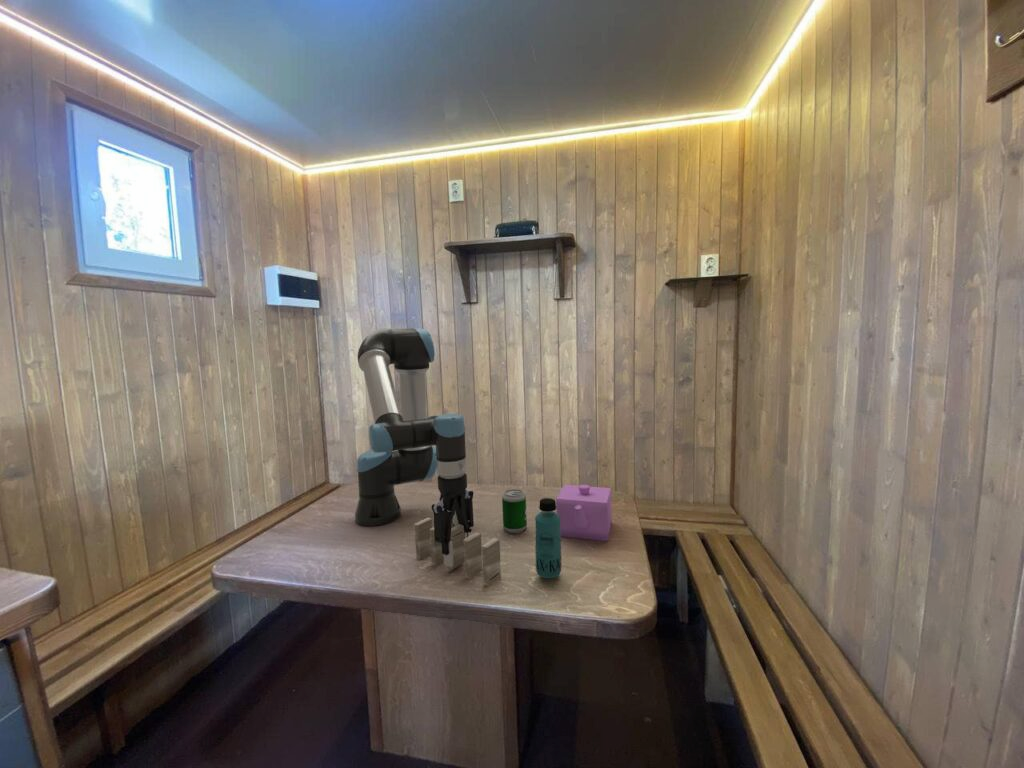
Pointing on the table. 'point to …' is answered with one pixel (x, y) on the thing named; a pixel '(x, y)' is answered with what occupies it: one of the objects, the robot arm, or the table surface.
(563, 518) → the purple lidded box
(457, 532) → the domino
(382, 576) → the table surface
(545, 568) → the beverage bottle
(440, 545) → the domino
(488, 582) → the domino
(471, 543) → the domino
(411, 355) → the robot arm
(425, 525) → the domino
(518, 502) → the soda can
